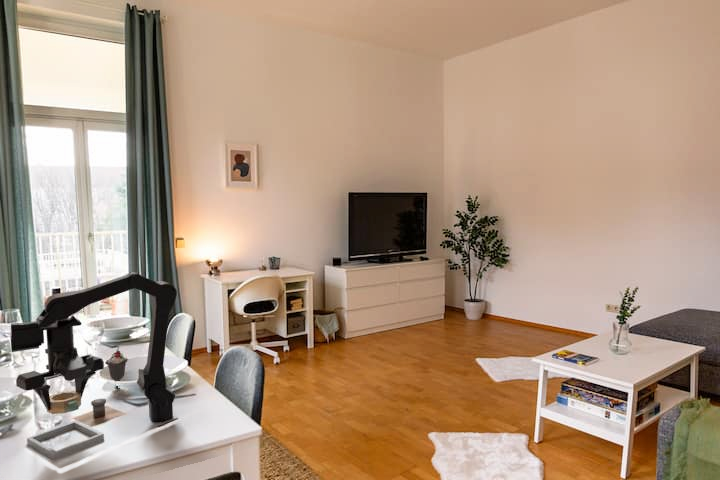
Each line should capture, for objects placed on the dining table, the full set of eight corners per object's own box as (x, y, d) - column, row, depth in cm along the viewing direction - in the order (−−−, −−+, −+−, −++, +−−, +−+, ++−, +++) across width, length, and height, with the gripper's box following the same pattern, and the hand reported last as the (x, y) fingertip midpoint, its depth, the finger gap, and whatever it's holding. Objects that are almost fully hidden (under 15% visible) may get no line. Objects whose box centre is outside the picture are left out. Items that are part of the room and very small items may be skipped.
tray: (104, 443, 129) (103, 433, 128) (54, 463, 119) (54, 453, 119) (76, 429, 136) (75, 420, 136) (27, 447, 126) (27, 438, 126)
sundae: (120, 395, 160) (118, 349, 159) (102, 393, 162) (100, 348, 160) (133, 387, 167) (131, 343, 165) (116, 386, 168) (114, 342, 167)
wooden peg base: (126, 416, 144) (125, 399, 144) (91, 430, 136) (90, 411, 135) (107, 409, 150) (106, 391, 149) (72, 421, 141) (71, 403, 141)
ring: (71, 400, 132) (70, 389, 131) (88, 407, 127) (88, 396, 127) (42, 409, 126) (42, 398, 126) (59, 417, 121) (59, 405, 121)
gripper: (34, 360, 113) (39, 426, 115) (114, 340, 129) (117, 399, 130) (13, 352, 119) (17, 415, 121) (91, 334, 135) (94, 390, 136)
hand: (64, 404), depth 127 cm, fingers closed on ring, 7 cm apart
